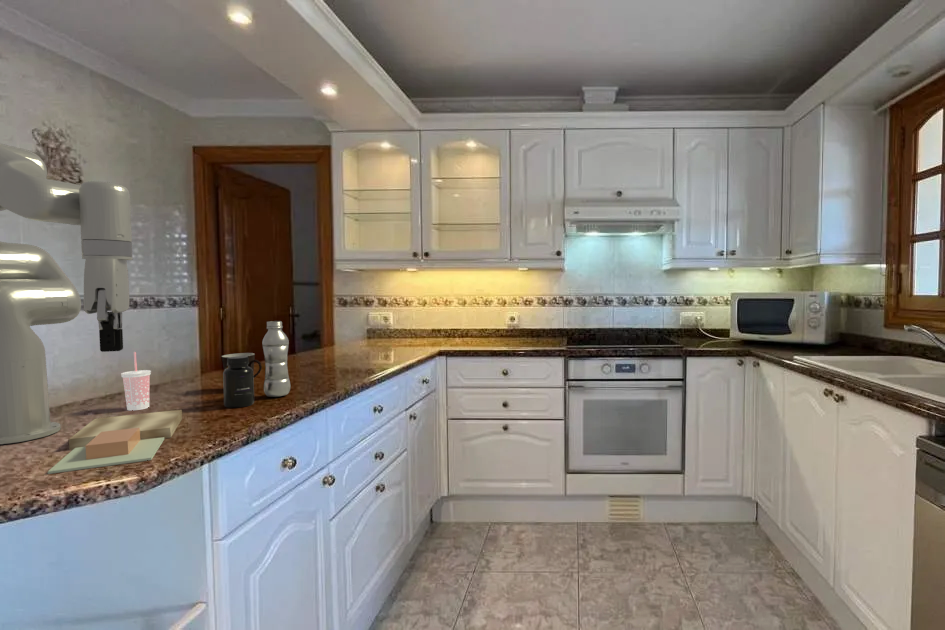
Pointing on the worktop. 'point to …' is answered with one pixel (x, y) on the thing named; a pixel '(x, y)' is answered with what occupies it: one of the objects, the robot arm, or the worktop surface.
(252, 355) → the coffee mug
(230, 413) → the worktop surface
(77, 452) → the sage mat
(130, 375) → the beverage cup
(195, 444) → the worktop surface
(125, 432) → the terracotta tile
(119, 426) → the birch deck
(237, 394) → the supplement bottle
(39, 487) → the worktop surface
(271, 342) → the plastic bottle
